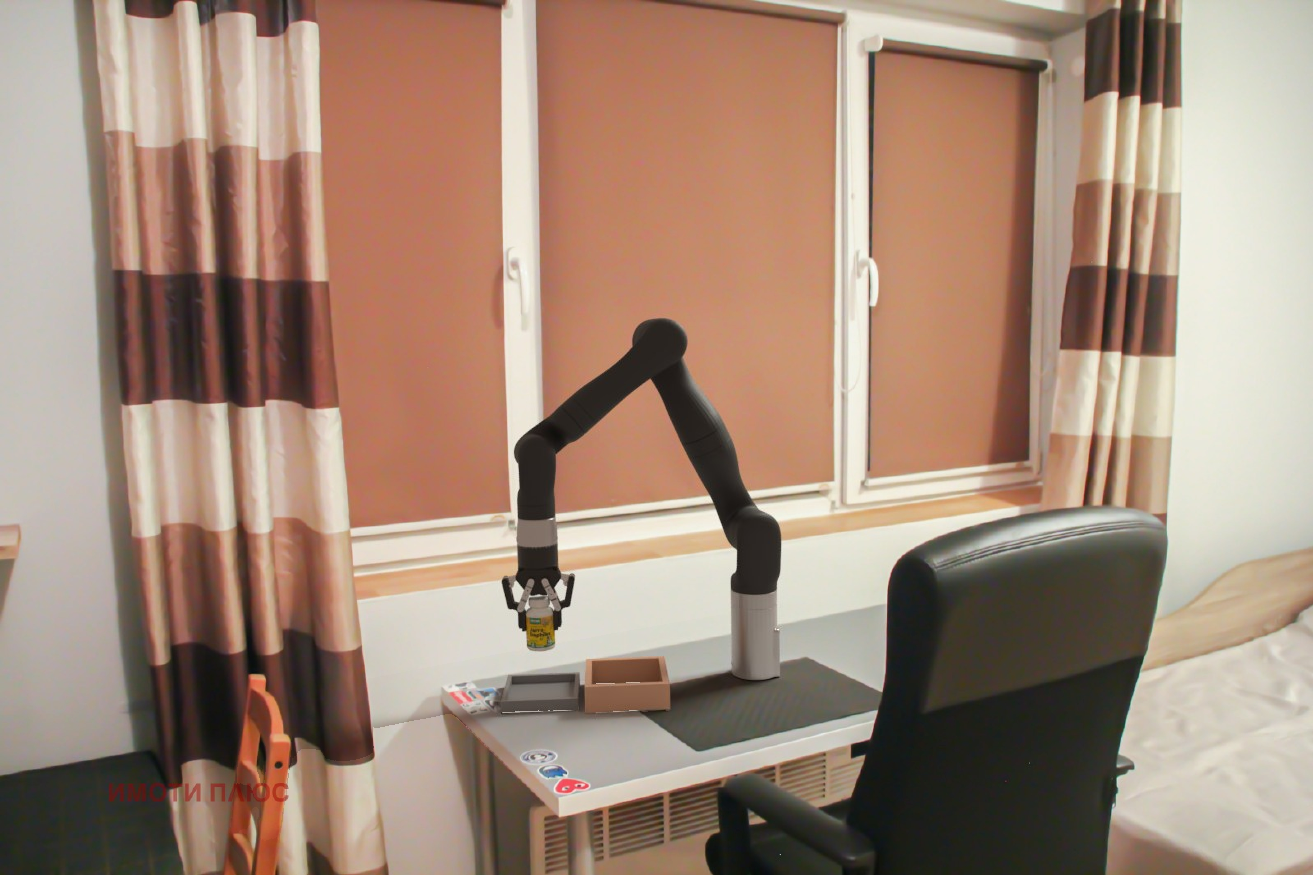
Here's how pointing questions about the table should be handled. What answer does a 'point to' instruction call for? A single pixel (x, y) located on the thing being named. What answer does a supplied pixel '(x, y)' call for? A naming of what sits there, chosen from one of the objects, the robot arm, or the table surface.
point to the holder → (626, 684)
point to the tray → (541, 692)
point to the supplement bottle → (540, 624)
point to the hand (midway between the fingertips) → (540, 629)
